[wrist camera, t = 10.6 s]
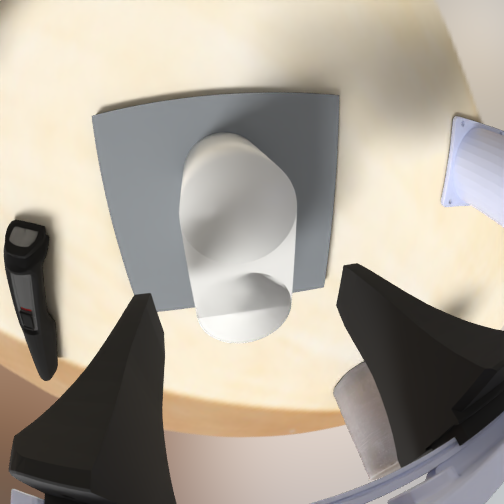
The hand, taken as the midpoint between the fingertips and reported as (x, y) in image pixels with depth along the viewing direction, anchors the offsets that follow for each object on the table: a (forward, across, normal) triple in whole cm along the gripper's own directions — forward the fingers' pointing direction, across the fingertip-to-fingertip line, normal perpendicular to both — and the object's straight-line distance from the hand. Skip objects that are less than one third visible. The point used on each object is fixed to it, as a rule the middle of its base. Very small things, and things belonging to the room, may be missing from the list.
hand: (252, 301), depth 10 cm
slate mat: (+9, 0, 0) cm, 9 cm away
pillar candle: (+9, -16, +25) cm, 31 cm away
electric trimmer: (+9, +16, +6) cm, 19 cm away
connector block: (+8, 0, 0) cm, 8 cm away
